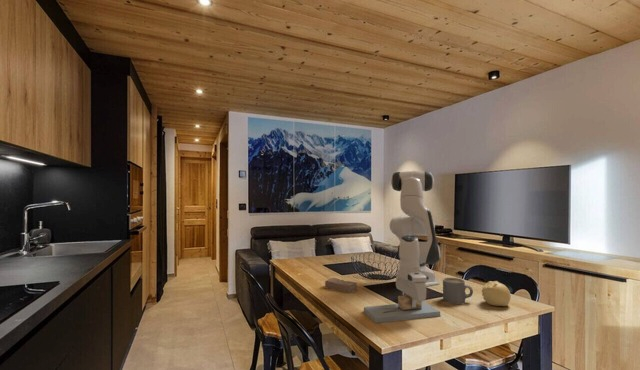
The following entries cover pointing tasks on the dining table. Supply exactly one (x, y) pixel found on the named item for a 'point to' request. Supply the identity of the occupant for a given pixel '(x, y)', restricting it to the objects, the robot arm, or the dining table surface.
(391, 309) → the board
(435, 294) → the dining table surface
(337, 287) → the brick
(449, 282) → the coffee mug
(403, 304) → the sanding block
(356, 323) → the dining table surface
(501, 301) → the pale yellow rounded lump
